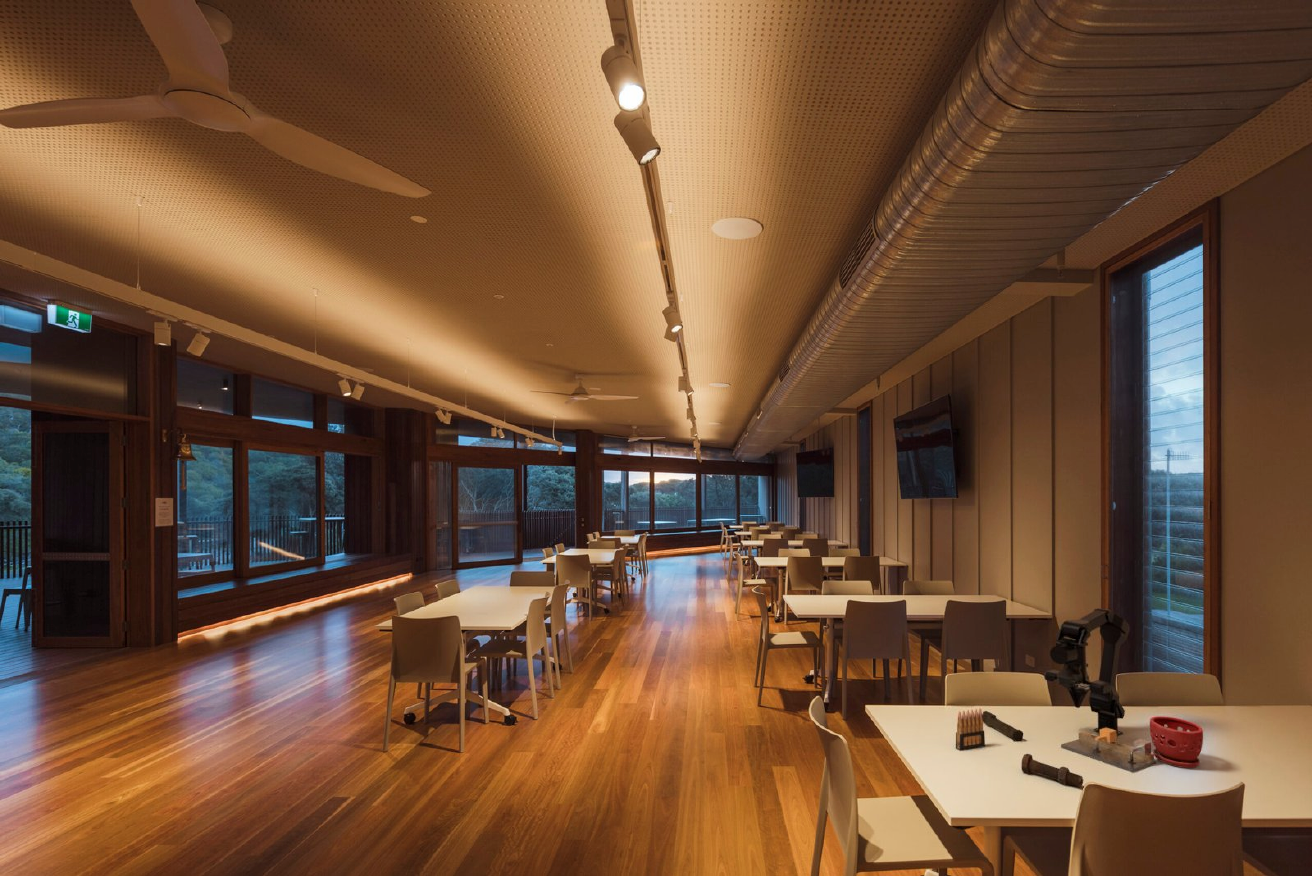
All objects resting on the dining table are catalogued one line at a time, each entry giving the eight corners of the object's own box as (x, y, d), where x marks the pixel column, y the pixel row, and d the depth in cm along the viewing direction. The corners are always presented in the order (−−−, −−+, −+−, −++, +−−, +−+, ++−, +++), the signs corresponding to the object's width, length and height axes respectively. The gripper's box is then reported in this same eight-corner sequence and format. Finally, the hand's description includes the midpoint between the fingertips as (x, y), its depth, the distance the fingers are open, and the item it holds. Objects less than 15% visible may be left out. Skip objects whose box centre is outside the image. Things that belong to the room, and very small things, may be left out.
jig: (1085, 740, 225) (1084, 721, 226) (1156, 763, 207) (1155, 743, 207) (1061, 747, 218) (1060, 728, 219) (1132, 772, 200) (1131, 751, 201)
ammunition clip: (980, 744, 220) (980, 707, 221) (985, 746, 218) (984, 708, 219) (955, 748, 216) (955, 710, 217) (960, 750, 214) (959, 712, 215)
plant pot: (1141, 757, 212) (1140, 718, 212) (1167, 751, 217) (1165, 713, 218) (1187, 774, 200) (1186, 733, 200) (1213, 767, 205) (1212, 727, 206)
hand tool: (1024, 742, 223) (1024, 728, 223) (1013, 742, 223) (1012, 728, 223) (989, 722, 242) (989, 709, 242) (979, 722, 242) (979, 709, 242)
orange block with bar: (1106, 743, 219) (1106, 727, 219) (1116, 746, 216) (1116, 730, 217) (1091, 748, 215) (1091, 732, 215) (1101, 751, 212) (1101, 735, 212)
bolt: (1080, 796, 188) (1023, 776, 199) (1085, 783, 191) (1028, 764, 202) (1077, 781, 186) (1019, 761, 197) (1082, 767, 189) (1025, 749, 201)
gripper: (1034, 657, 229) (1036, 703, 228) (1093, 670, 213) (1095, 720, 212) (1052, 652, 235) (1054, 698, 234) (1111, 665, 219) (1112, 714, 218)
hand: (1077, 707), depth 224 cm, fingers closed
